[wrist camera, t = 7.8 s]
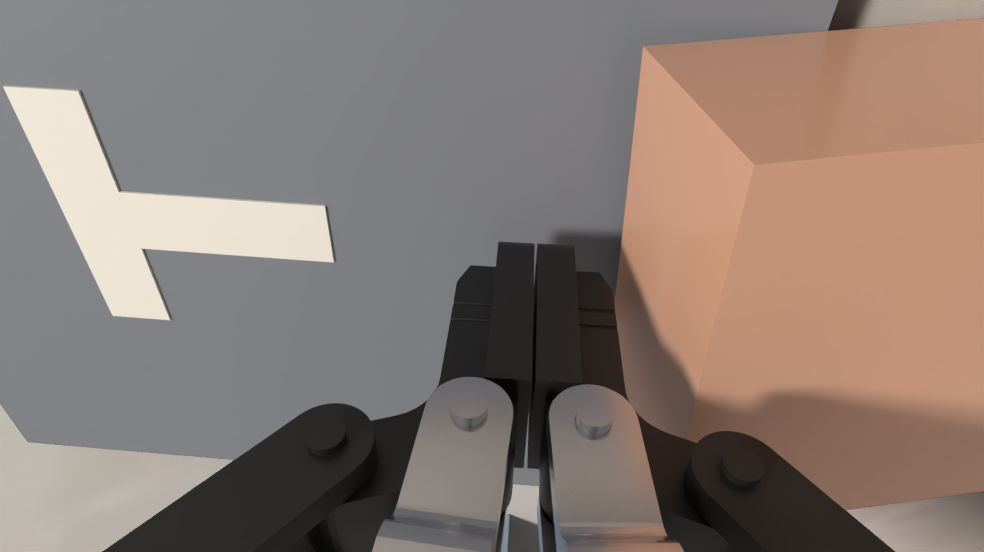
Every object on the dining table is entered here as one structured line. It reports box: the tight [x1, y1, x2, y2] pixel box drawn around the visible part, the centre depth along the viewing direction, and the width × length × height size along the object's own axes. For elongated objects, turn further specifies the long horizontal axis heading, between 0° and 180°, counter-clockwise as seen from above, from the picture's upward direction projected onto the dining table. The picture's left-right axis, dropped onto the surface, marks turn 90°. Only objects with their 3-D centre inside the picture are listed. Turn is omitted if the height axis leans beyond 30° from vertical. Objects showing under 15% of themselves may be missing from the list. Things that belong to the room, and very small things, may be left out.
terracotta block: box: [614, 18, 984, 510], centre depth 11 cm, size 8×8×4 cm
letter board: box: [0, 0, 839, 486], centre depth 14 cm, size 20×18×1 cm
